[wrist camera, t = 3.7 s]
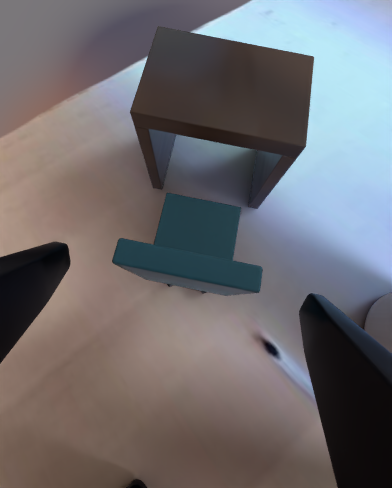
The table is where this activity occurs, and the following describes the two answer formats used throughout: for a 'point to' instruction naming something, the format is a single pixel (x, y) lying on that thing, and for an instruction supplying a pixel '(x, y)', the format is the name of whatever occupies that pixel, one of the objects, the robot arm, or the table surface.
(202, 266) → the office chair
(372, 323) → the coffee cup
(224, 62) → the desk
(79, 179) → the table surface
